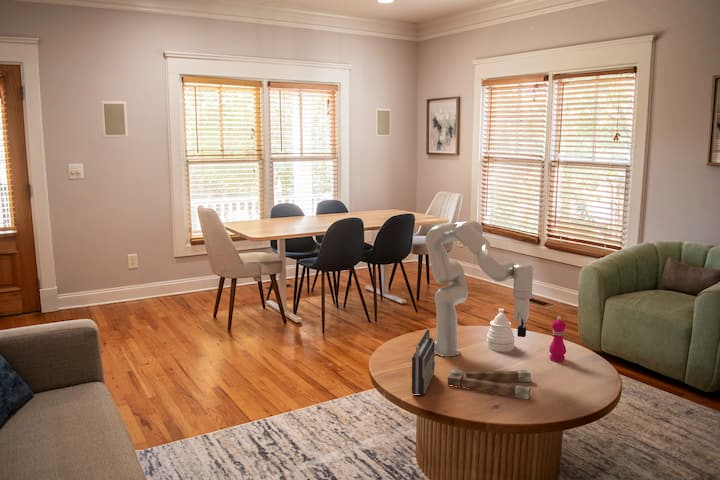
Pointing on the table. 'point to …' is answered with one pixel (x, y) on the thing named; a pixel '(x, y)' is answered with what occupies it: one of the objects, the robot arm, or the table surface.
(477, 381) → the tongs base
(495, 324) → the honey pot
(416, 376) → the radio
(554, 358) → the pepper mill
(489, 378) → the tongs arm
